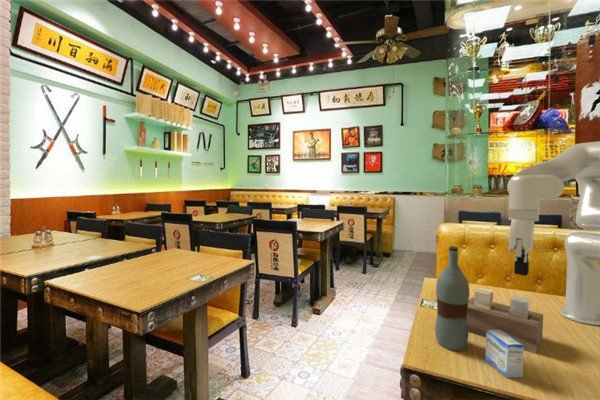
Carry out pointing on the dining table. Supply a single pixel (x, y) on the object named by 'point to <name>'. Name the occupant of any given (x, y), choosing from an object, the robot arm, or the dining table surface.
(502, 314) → the block
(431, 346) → the dining table surface
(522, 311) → the pale grey block
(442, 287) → the bottle
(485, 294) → the ash peg
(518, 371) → the medicine box
